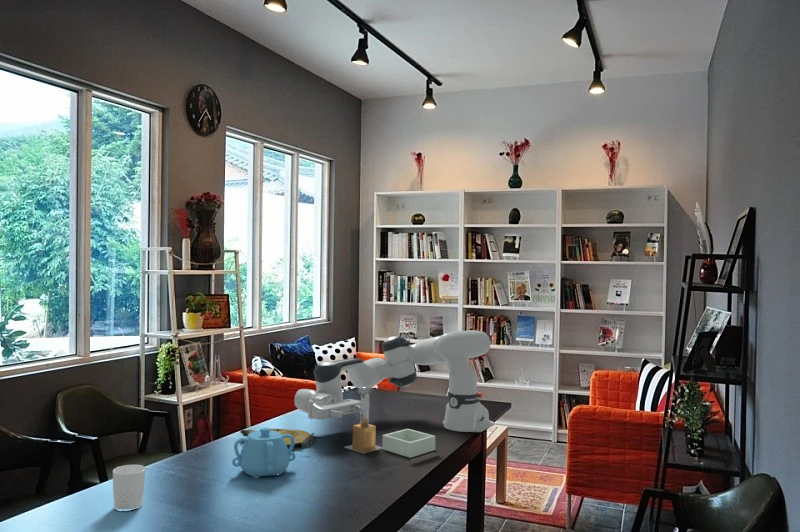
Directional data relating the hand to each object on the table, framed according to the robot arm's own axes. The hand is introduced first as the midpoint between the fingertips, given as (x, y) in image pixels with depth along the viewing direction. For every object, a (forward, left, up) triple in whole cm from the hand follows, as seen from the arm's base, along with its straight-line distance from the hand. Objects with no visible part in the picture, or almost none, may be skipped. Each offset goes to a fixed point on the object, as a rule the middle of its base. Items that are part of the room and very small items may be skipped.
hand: (352, 412), depth 225 cm
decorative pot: (+38, +1, -13) cm, 40 cm away
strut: (0, +6, -11) cm, 12 cm away
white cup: (+80, 0, -13) cm, 80 cm away
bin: (-10, +18, -12) cm, 24 cm away
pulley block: (+17, -21, -13) cm, 30 cm away
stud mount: (0, +6, -12) cm, 14 cm away
